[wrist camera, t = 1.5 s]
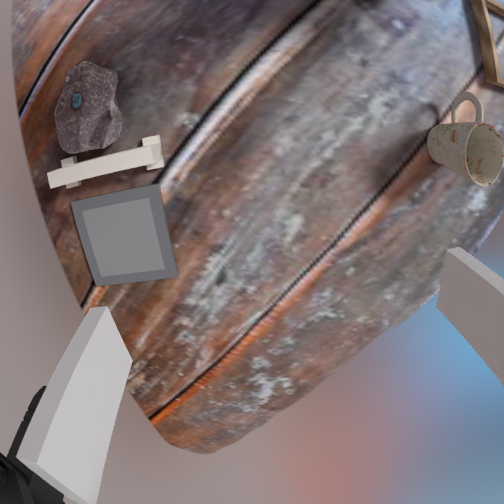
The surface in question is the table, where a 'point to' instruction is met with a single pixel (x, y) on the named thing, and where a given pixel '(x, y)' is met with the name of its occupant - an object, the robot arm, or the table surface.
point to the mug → (468, 145)
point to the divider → (108, 163)
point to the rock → (88, 109)
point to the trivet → (126, 236)
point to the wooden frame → (488, 38)
